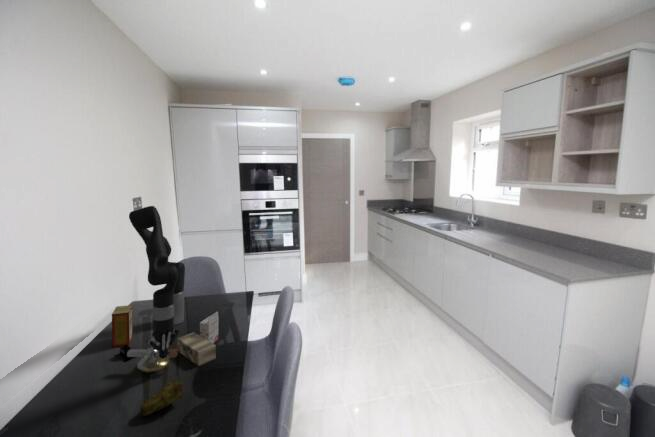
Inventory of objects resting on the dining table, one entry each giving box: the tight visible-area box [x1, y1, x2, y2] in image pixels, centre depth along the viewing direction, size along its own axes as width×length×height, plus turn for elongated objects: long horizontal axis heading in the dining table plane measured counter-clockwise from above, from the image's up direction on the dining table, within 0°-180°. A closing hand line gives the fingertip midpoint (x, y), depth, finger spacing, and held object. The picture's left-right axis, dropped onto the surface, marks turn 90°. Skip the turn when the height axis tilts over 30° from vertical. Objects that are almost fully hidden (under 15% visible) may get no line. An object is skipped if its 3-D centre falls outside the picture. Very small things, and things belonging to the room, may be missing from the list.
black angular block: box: [113, 345, 135, 363], centre depth 132 cm, size 12×7×5 cm, turn 60°
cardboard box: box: [176, 331, 217, 367], centre depth 135 cm, size 18×9×6 cm, turn 53°
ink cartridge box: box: [199, 310, 219, 344], centre depth 146 cm, size 9×5×15 cm, turn 168°
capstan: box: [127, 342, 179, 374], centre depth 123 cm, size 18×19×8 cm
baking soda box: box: [111, 304, 134, 348], centre depth 143 cm, size 10×6×16 cm
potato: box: [139, 380, 185, 416], centre depth 103 cm, size 8×13×8 cm, turn 115°
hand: (163, 357), depth 121 cm, fingers closed
